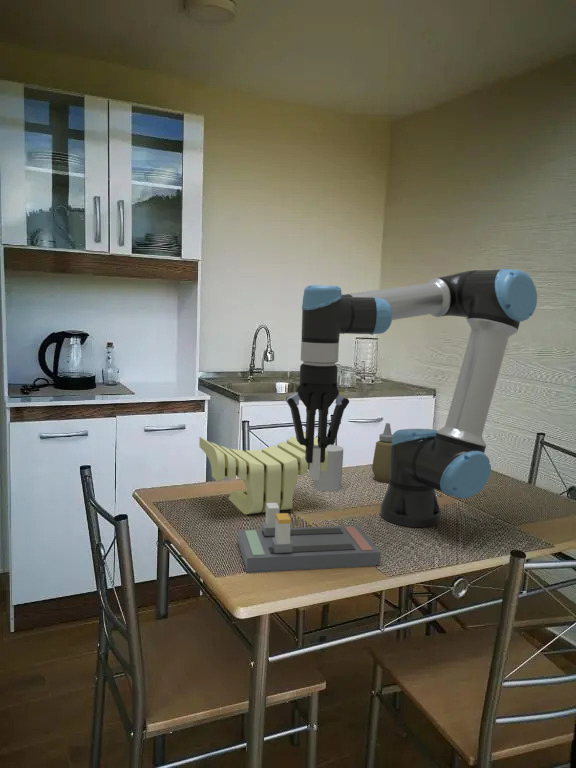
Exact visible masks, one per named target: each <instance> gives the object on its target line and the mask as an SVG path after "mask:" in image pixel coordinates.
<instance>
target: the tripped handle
mask: <svg viewBox="0 0 576 768" xmlns="http://www.w3.org/2000/svg"><path fill="white" fill-rule="evenodd" d="M275 517H276V523H275V538H272V548H273V550H274V552H275V553H288V552H292V545H293V544H292V542H291V540H290V528H291V524H292V519H291V517H290V515H289V514H288V512H285V513H283V512H279V513H277V514H276V516H275Z"/></svg>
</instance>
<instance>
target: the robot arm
mask: <svg viewBox="0 0 576 768" xmlns="http://www.w3.org/2000/svg"><path fill="white" fill-rule="evenodd" d="M342 293H343V292H342V287H340V286H338V285H327V284H326V285H322V284H321V285H319V284H310V285H307V286H305V288H304V290H303V297H302V303H301V304H302V305H301V311H302V313H301V315H302V316H301V343H300V344H301V345H300V361H301V362H302V363H301V365H299V385H298V386H297V389H296V393H294V394H292V395H291V396H287V397H286V398H285V402H286V403H287V405H288V407H289V408H290V411H291V412H290V413H291V418H292V422H293V423H292V424H293V428H294V433H295V438H297V441H298V442H299V443H300V444H301V445H304V446H305V447H306V451H305V460H306V462H307V463H310V468H309V469H308V473H309V474H308V475H309V476H308V477H310V479H311V480H312V481H314V480H319V476H320V463H324V461H325V448H327V446H328V445H335V443H336V439H337V436H338V433H339V429H340V425H341V422H342V418H343V416H344V415H343V414H344V411H345V409H346V408H347V406H348V405H349V403H350V400H349V399H348V398H347V397H345V396H343V395H341V394H340V390H339V389H338V372H339V370H338V369H339V368H338V367H339V366H338V365H337V363H338V362H339V353H340V352H339V347H340V345H339V343H340V335H341V334H342V335H344V334H351V335H371V336H374V335H379V334H380V335H381V334H385V333H386V332H387V331H388V330H389V328H390V327H391V325H392V321H394V320H395V321H396V320H400V319H402V320H403V319H408V318H414V317H419V316H426V315H430V316H433V317H436V318H438V317H439V318H441V317H461V318H462V317H463V318H467V320H466V323H468V325H469V326H470V334H469V337H468V341H467V344H466V347H465V348H466V349H465V351H464V354H463V355H464V356H463V359H462V363H461V367H460V370H459V374H458V377H457V382H456V384H455V389H454V392H453V396H452V399H451V402H450V406H449V410H448V415H447V418H446V421H445V424H444V425H445V426H444V427H442V428H440V429H438V430H437V429H431V428H405V429H398V430H396V431H394V432H393V434H392V435H393V437H392V444H391V459H390V479H389V482H388V488H387V490H386V492H385V494H384V496H383V500H382V502H381V503H380V504H381V505H380V512H379V513H380V514H379V515H380V517H381V518H383V519H384V520H385V521H387V522H389V523H391V524H394V525H398V526H403V527H408V528H409V527H410V528H426V527H433V526H435V525H437V524H439V523H440V520H441V509H440V505H439V501H438V497H437V493H436V490H437V491H440V492H441V493H443V494H445V495H447V496H451V497H453V498H454V497H455V498H456V499H457V498H458V499H469V498H472V497H474V496H475V495H476V494H478V493H480V492H481V491H482V490H483V489H484V487H485V486H486V485H487V483H488V481H489V479H490V476H491V472H492V465H491V464H490V463H491V461H490V459H489V457H488V455H486V453H485V452H486V447H487V444H486V442H485V440H484V438H483V433H484V430H485V424H486V422H487V418H488V414H489V410H490V407H491V403H492V400H493V396H494V392H495V389H496V385H497V382H498V378H499V374H500V371H501V368H502V363H503V359H504V356H505V352H506V349H507V346H508V341H509V338H510V337H511V336H513V335H515V334H516V333H518V332H519V331H518V330H519V327H520V325H521V322H524V321H526V320H528V319H530V317H532V316H533V314H534V313H535V311H536V307H537V303H538V293H537V288H536V286H535V283H534V281H533V279H532V277H531V276H530V275H529V274H528V273H526V271H523V270H520V269H509V268H502V269H482V270H479V269H477V270H475V269H474V270H466V271H463V272H457V273H454V274H450V275H446V276H440V277H434V278H433V277H432V278H430V279H429V280H428V281H427V282H426V283H419V284H413V285H412V284H411V285H405V286H396V287H390V288H382V289H376V290H375V289H373V290H368V291H361V292H360V291H359V292H353V293H352V292H351V293H347V294H342ZM300 401H301V402H302V404H303V405H304V406H305V411H306V412H305V413H306V416H305V418H306V419H305V432H306V437H305V438H304V433H303V431H304V428H303V423H302V418H301V414H300V410H299V405H300ZM334 402H335V407H334V408H333V413H332V416H331V421H330V424H329V427H328V415H329V408H330V407H331V406H332V404H334ZM317 410H318V423H317V424H318V425H317V438H318V445H314V437H315V426H316V414H317Z"/></svg>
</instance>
